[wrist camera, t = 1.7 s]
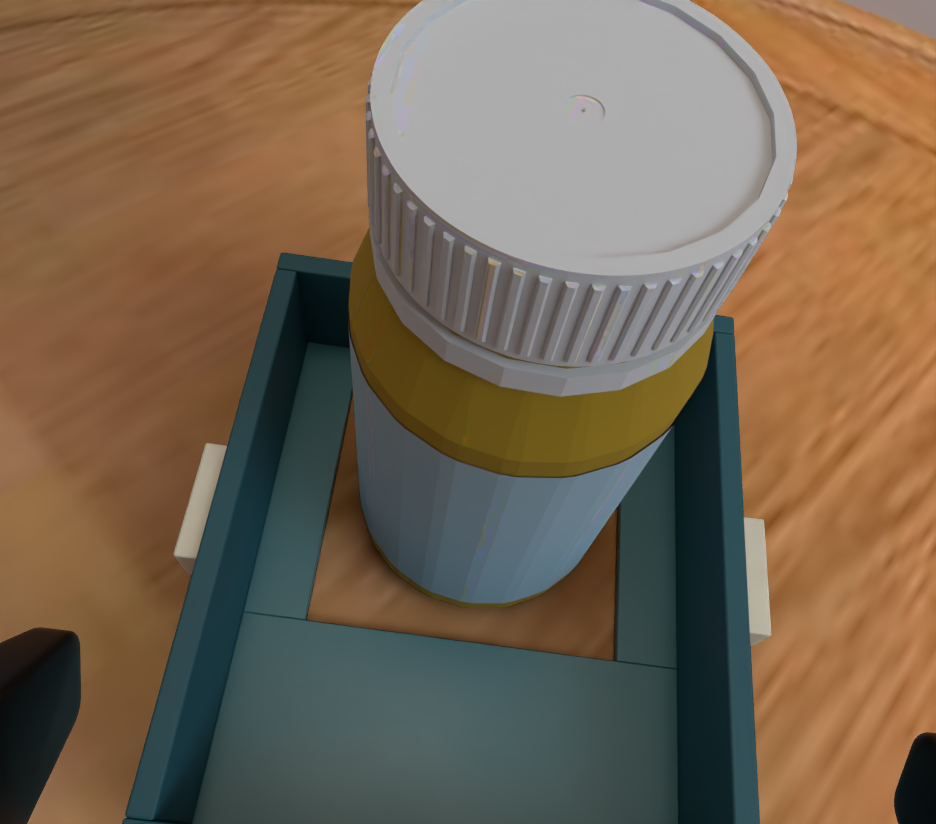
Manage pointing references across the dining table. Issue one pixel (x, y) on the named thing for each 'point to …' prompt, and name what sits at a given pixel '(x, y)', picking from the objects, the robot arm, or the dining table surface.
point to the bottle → (544, 269)
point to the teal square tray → (444, 660)
